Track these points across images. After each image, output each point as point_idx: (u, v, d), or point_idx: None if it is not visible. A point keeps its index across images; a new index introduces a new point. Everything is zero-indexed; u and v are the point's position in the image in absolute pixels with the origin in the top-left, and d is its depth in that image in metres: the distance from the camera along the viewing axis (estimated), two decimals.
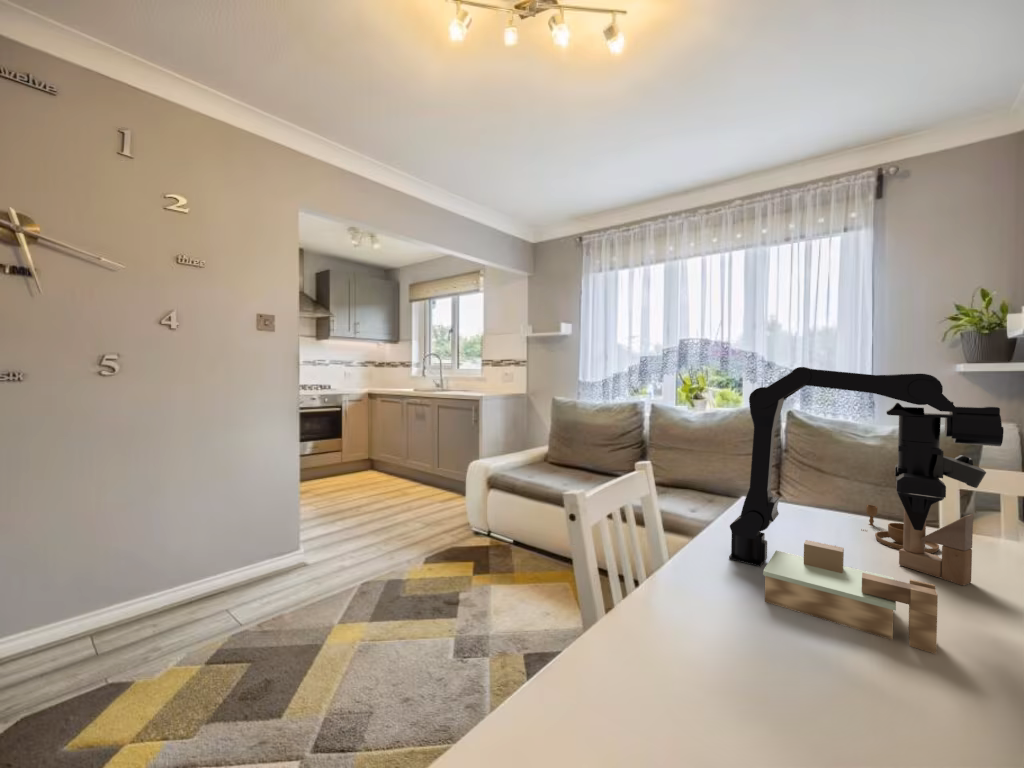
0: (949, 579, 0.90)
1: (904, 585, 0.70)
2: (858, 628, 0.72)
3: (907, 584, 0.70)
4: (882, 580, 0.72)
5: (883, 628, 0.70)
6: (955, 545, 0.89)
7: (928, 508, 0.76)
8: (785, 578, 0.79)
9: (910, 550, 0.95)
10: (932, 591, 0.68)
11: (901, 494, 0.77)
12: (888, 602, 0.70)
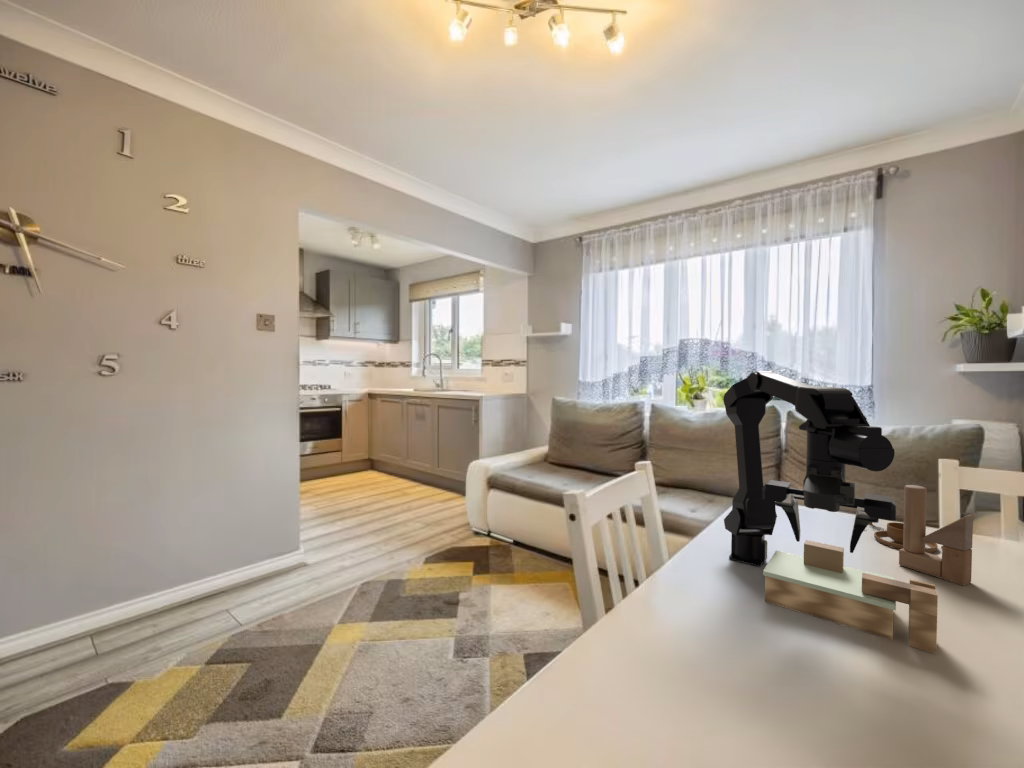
0: (949, 579, 0.90)
1: (904, 585, 0.70)
2: (858, 628, 0.72)
3: (907, 584, 0.70)
4: (882, 580, 0.72)
5: (883, 628, 0.70)
6: (955, 545, 0.89)
7: None
8: (785, 578, 0.79)
9: (910, 550, 0.95)
10: (932, 591, 0.68)
11: None
12: (888, 602, 0.70)
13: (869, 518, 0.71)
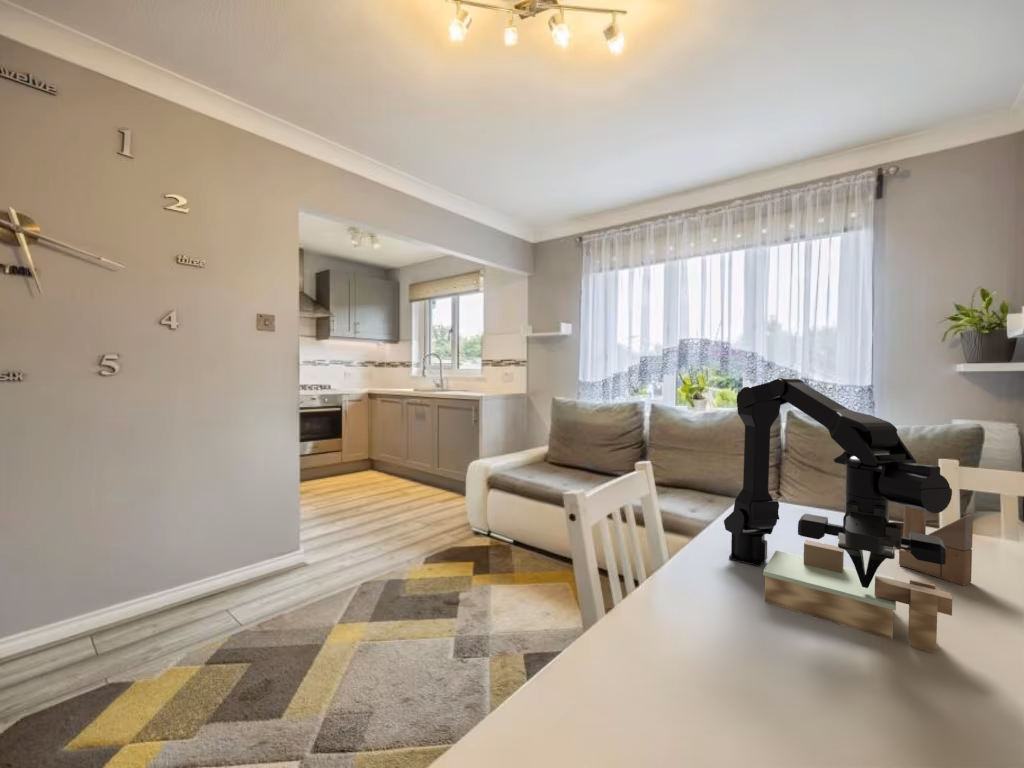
0: (949, 579, 0.90)
1: (918, 588, 0.69)
2: (858, 628, 0.72)
3: (921, 587, 0.69)
4: (895, 583, 0.71)
5: (883, 628, 0.70)
6: (955, 545, 0.89)
7: None
8: (785, 578, 0.79)
9: (910, 550, 0.95)
10: (947, 595, 0.67)
11: None
12: (888, 602, 0.70)
13: (885, 554, 0.70)
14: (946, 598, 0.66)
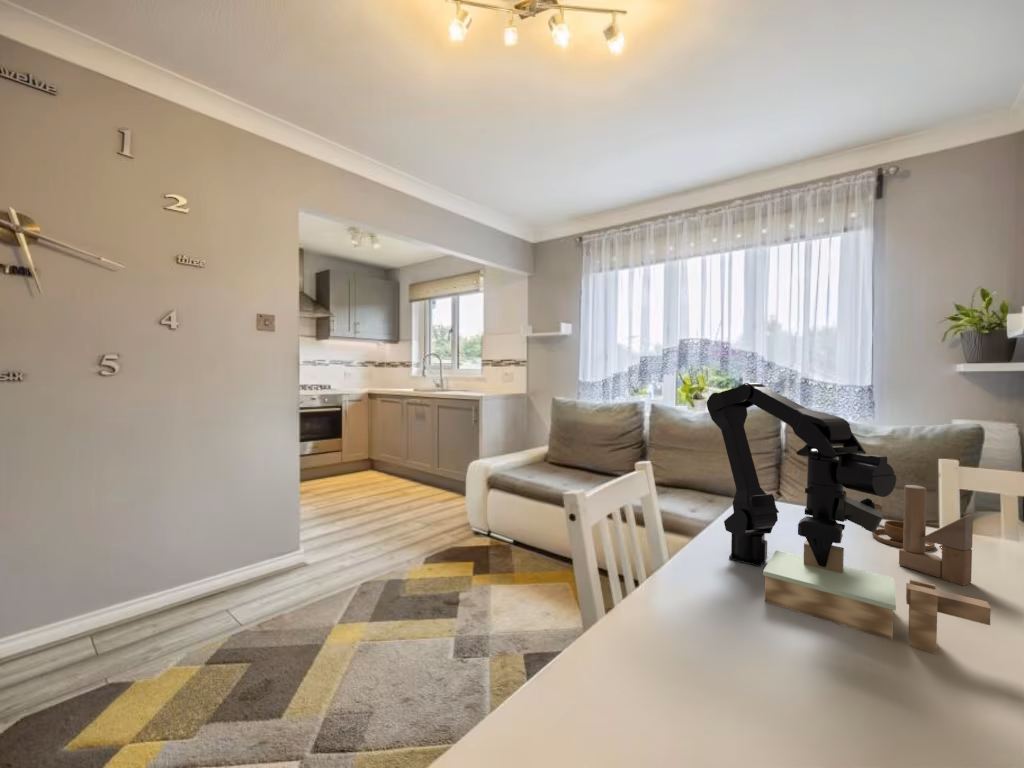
0: (949, 579, 0.90)
1: (953, 597, 0.66)
2: (858, 628, 0.72)
3: (956, 596, 0.67)
4: (929, 591, 0.68)
5: (883, 628, 0.70)
6: (955, 545, 0.89)
7: (829, 546, 0.80)
8: (785, 578, 0.79)
9: (910, 550, 0.95)
10: (984, 603, 0.65)
11: None
12: (888, 602, 0.70)
13: (841, 525, 0.84)
14: (984, 607, 0.64)
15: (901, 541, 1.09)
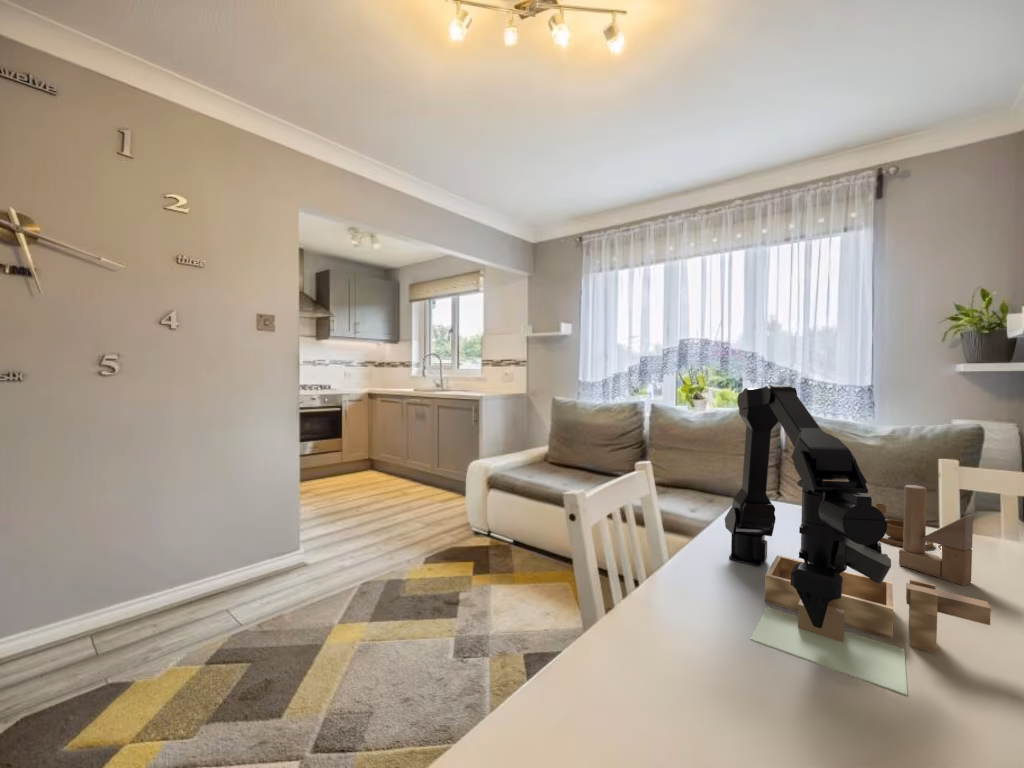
0: (949, 579, 0.90)
1: (953, 597, 0.66)
2: (858, 628, 0.72)
3: (956, 596, 0.67)
4: (929, 591, 0.68)
5: (883, 628, 0.70)
6: (955, 545, 0.89)
7: (826, 605, 0.66)
8: None
9: (910, 550, 0.95)
10: (984, 603, 0.65)
11: (796, 587, 0.67)
12: (898, 689, 0.59)
13: None
14: (984, 607, 0.64)
15: (899, 540, 1.10)
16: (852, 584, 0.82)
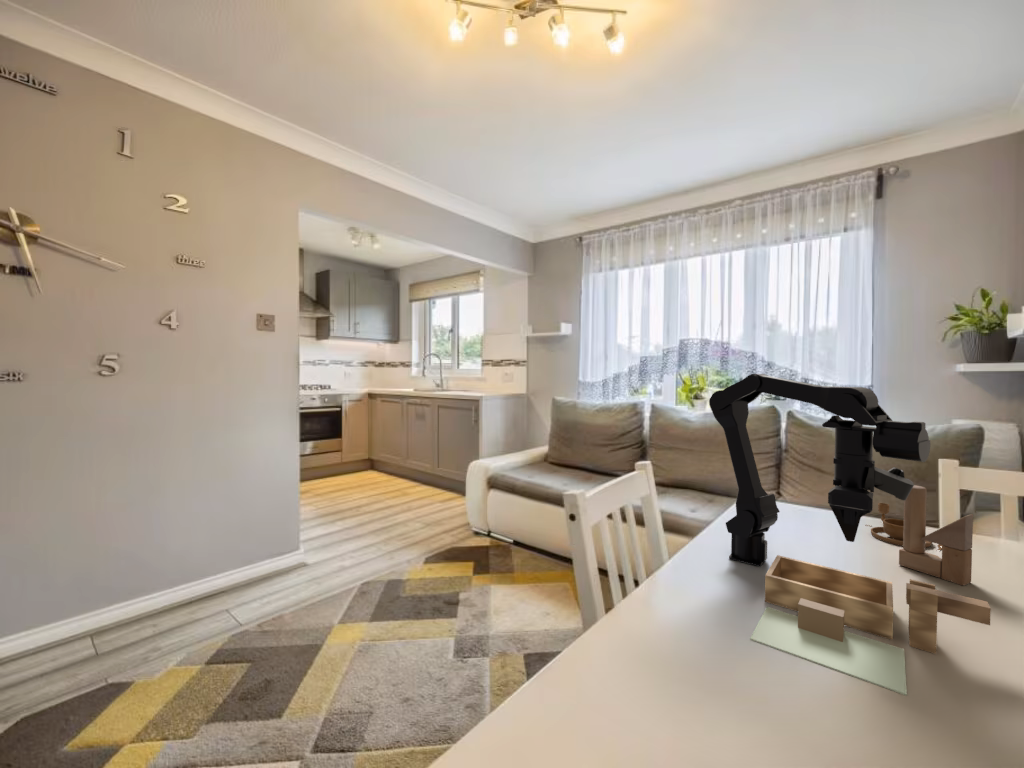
0: (949, 579, 0.90)
1: (953, 597, 0.66)
2: (858, 628, 0.72)
3: (956, 596, 0.67)
4: (929, 591, 0.68)
5: (883, 628, 0.70)
6: (955, 545, 0.89)
7: (858, 520, 0.78)
8: None
9: (910, 550, 0.95)
10: (984, 603, 0.65)
11: (832, 506, 0.79)
12: (897, 688, 0.59)
13: (869, 493, 0.87)
14: (984, 607, 0.64)
15: (898, 538, 1.11)
16: (852, 584, 0.82)
